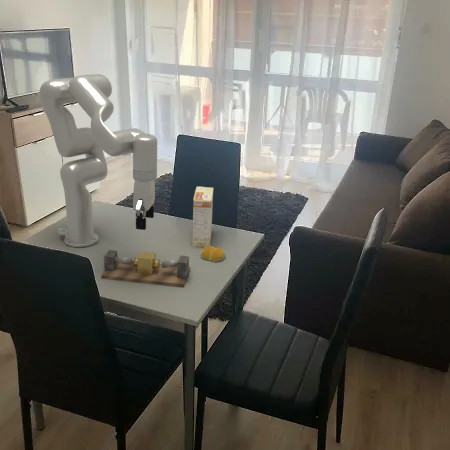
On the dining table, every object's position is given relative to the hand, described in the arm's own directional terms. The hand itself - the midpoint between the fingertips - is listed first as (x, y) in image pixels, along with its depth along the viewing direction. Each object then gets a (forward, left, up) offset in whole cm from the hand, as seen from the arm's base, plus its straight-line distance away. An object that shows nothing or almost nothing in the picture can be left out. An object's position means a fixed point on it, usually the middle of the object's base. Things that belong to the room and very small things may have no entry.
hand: (145, 223), depth 164 cm
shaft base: (+1, -1, -19) cm, 19 cm away
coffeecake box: (+15, +31, -19) cm, 39 cm away
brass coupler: (+1, -1, -17) cm, 17 cm away
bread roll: (+21, +17, -19) cm, 33 cm away
